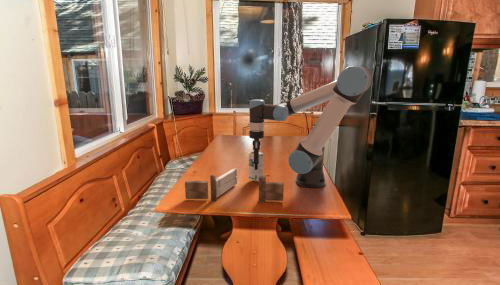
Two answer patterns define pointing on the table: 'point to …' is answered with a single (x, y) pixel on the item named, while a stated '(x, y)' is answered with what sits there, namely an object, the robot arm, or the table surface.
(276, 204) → the table surface
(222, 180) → the gate
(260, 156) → the syrup box
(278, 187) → the fence
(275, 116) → the robot arm
